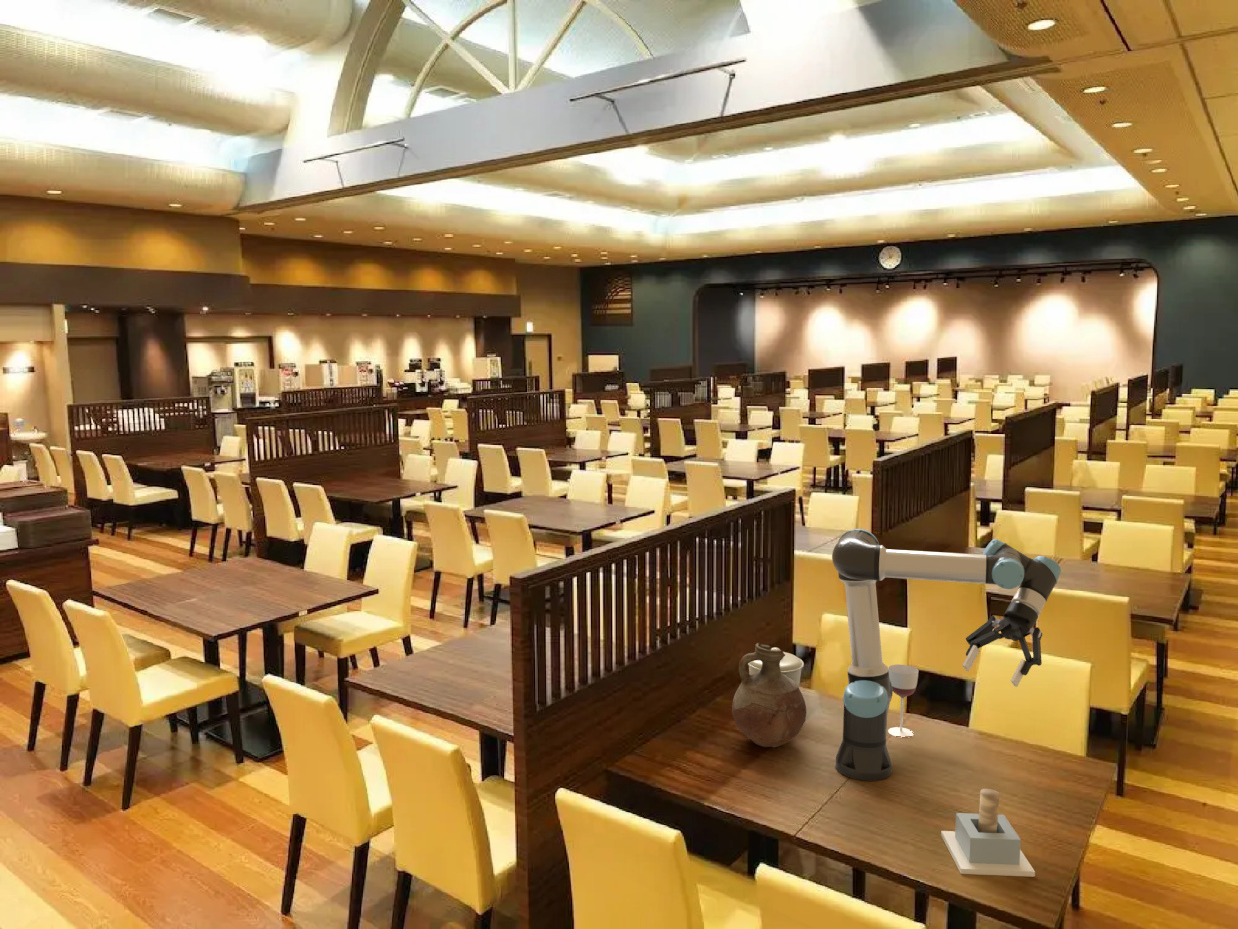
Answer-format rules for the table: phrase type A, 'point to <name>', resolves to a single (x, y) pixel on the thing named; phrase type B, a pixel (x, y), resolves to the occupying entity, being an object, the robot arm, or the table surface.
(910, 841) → the table surface
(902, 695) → the wineglass
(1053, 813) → the table surface
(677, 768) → the table surface
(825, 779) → the table surface
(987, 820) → the birch peg
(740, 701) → the jug
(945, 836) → the socket block
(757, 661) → the canister
